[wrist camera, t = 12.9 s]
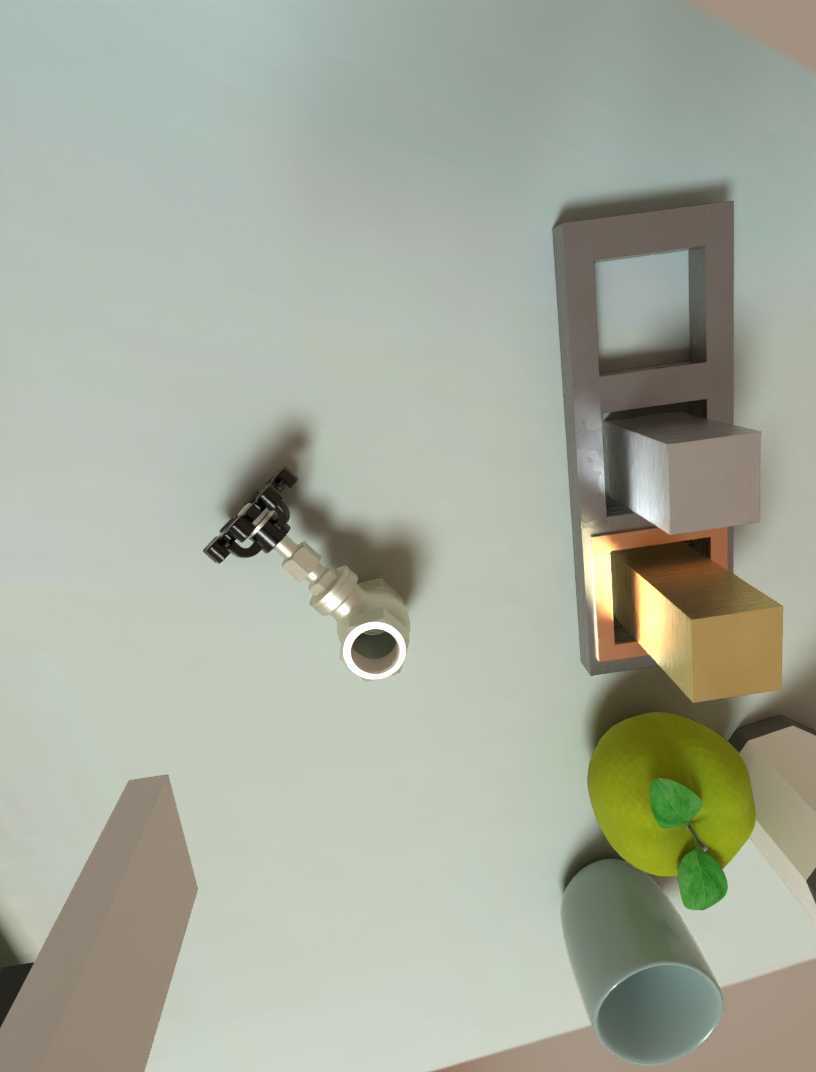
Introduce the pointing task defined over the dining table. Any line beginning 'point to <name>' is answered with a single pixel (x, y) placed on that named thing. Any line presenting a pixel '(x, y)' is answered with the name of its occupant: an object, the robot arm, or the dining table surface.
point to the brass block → (699, 621)
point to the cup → (637, 965)
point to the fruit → (673, 801)
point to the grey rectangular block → (684, 471)
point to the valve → (323, 583)
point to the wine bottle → (784, 800)
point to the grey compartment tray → (636, 396)
